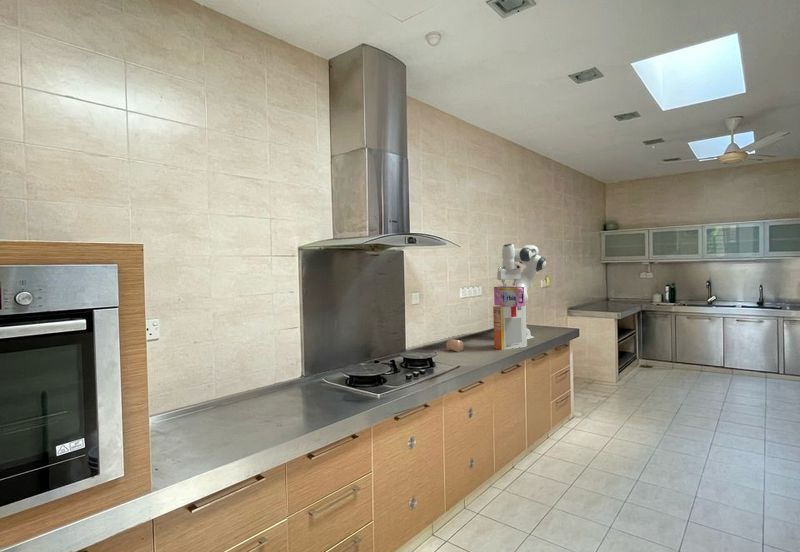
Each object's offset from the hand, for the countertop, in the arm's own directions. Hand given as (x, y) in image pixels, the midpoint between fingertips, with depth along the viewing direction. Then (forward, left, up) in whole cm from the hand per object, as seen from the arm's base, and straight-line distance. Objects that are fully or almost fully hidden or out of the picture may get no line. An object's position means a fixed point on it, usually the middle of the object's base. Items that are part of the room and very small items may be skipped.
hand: (509, 286), depth 306 cm
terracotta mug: (+37, -21, -41) cm, 59 cm away
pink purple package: (0, -1, -14) cm, 14 cm away
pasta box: (0, -1, -44) cm, 44 cm away
